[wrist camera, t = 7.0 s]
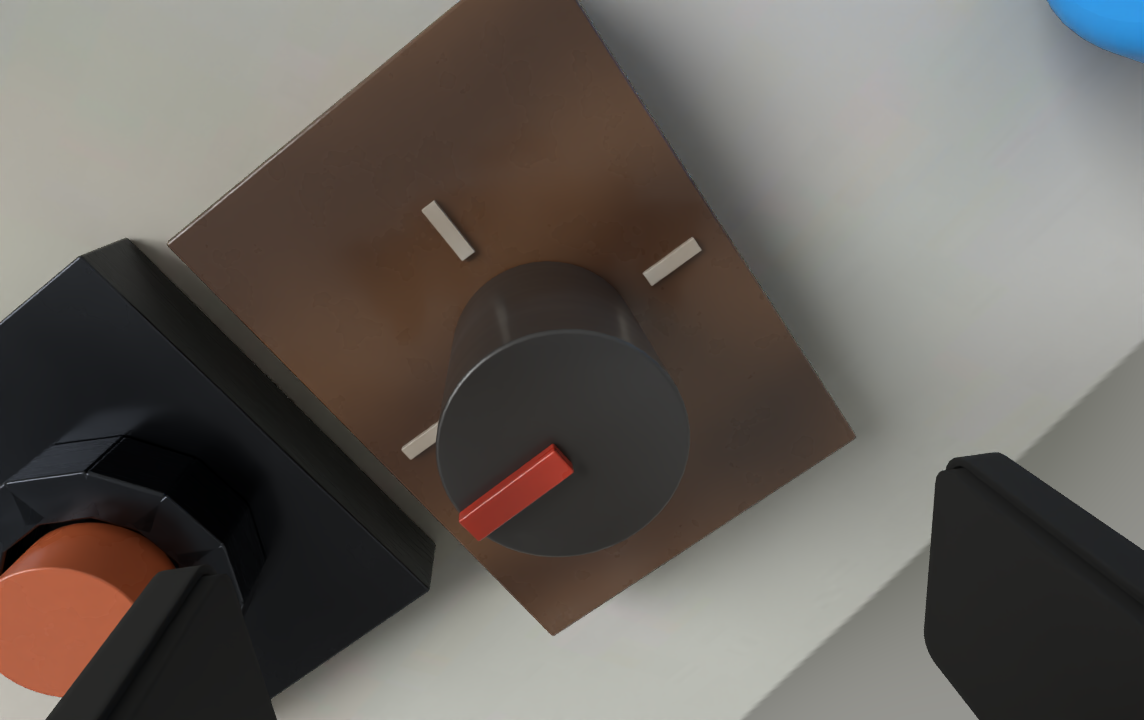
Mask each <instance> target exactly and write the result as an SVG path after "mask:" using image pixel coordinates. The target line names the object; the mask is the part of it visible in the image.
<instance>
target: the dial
mask: <svg viewBox="0 0 1144 720" xmlns="http://www.w3.org/2000/svg"><path fill="white" fill-rule="evenodd" d="M689 447H690V426H689V420H688V414H687V411H686V407H685V404H684V401H683V399H682V396H681V394H680V392H679V390H678V388H677V386H676V385H675V383H674V381H673V380H672V378H671V376H670V375H669V373H668V371H667V370H666V368H665V366H664V365H663V363H662V361H661V360H660V358H659V357H658V355H657V353H656V352H655V350H654V348H653V347H652V345H651V343H650V342H649V340H648V338H647V337H646V335H645V333H644V332H643V330H642V329H641V327H640V325H639V324H638V322H637V320H636V319H635V317H634V315H633V314H632V312H631V310H630V309H629V307H628V306H627V304H626V303H625V301H624V300H623V298H622V297H621V295H620V294H619V293H618V292H617V291H616V290H615V289H614V288H613V287H612V286H611V285H610V284H609V283H608V282H606V281H605V280H604V279H603V278H601V277H599V276H598V275H596V274H595V273H593V272H591V271H589V270H586V269H584V268H582V267H579V266H576V265H572V264H568V263H562V262H551V261H543V262H532V263H528V264H523V265H519V266H516V267H514V268H511V269H508V270H506V271H504V272H502V273H500V274H498V275H497V276H495V277H494V278H492V279H491V280H489V281H488V282H486V283H485V284H484V285H483V286H482V287H481V288H480V289H479V290H478V291H477V292H476V293H475V294H474V295H473V297H472V298H471V299H470V300H469V302H468V303H467V305H466V306H465V308H464V310H463V311H462V313H461V316H460V318H459V320H458V323H457V326H456V329H455V333H454V338H453V344H452V350H451V355H450V361H449V366H448V372H447V378H446V383H445V389H444V394H443V400H442V405H441V411H440V417H439V422H438V428H437V435H436V460H437V467H438V472H439V475H440V478H441V482H442V485H443V487H444V489H445V491H446V493H447V495H448V497H449V499H450V501H451V502H452V504H453V505H454V507H455V508H456V510H457V511H458V512H459V523H460V524H461V525H462V526H463V527H464V528H465V529H466V530H467V531H468V532H469V533H470V534H471V535H472V536H473V537H475V538H476V539H477V540H478V541H481V540H482V539H484V538H485V537H487V538H489V539H490V540H492V541H494V542H496V543H498V544H500V545H502V546H504V547H506V548H509V549H512V550H515V551H518V552H521V553H526V554H530V555H535V556H544V557H571V556H579V555H585V554H589V553H593V552H597V551H600V550H603V549H606V548H609V547H612V546H614V545H616V544H618V543H620V542H622V541H624V540H626V539H628V538H629V537H631V536H632V535H634V534H636V533H637V532H639V531H640V530H641V529H643V528H644V527H645V526H646V525H648V524H649V523H650V522H651V521H652V520H653V519H654V518H655V517H656V516H657V515H658V514H659V513H660V512H661V511H662V510H663V508H664V507H665V506H666V505H667V503H668V502H669V501H670V499H671V498H672V496H673V494H674V493H675V491H676V489H677V488H678V485H679V483H680V481H681V478H682V476H683V474H684V471H685V467H686V464H687V460H688V455H689Z"/></svg>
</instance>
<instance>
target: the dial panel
mask: <svg viewBox="0 0 1144 720" xmlns="http://www.w3.org/2000/svg"><path fill="white" fill-rule="evenodd" d="M167 245H168V247H169V248H170V249H171V250H172V251H173V252H174V253H175V254H176V255H177V256H178V257H179V258H180V259H181V260H182V261H183V262H184V263H185V264H186V265H187V266H188V267H189V268H190V269H191V270H192V271H193V272H194V273H195V274H196V275H197V276H198V277H199V278H200V279H201V280H202V281H203V282H204V283H205V284H206V285H207V286H208V287H209V288H210V289H211V290H212V291H213V292H214V293H215V295H216V296H217V297H218V298H219V299H220V300H221V301H222V302H223V303H224V304H225V305H226V306H227V307H228V308H229V309H230V310H231V311H232V312H233V313H234V314H235V315H236V316H237V317H238V318H239V319H240V320H241V321H242V322H243V323H244V324H245V325H246V326H247V327H248V328H249V329H250V330H251V331H252V332H253V333H254V334H255V335H256V336H257V337H258V338H259V339H260V340H261V341H262V342H263V343H264V344H265V345H266V346H267V347H268V348H269V349H270V350H271V351H272V352H273V353H274V354H275V355H276V356H277V357H278V358H279V359H280V360H281V361H282V362H283V363H284V364H285V365H286V366H287V368H288V369H289V370H290V371H291V372H292V373H293V374H294V375H295V376H296V377H297V378H298V379H299V380H300V381H301V382H302V383H303V384H304V385H305V386H306V387H307V388H308V389H309V390H310V391H311V392H312V393H313V394H314V395H315V396H316V397H317V398H318V399H319V400H320V401H321V402H322V403H323V404H324V405H325V406H326V407H327V408H328V409H329V410H330V411H331V412H332V413H333V414H334V415H335V416H336V417H337V418H338V419H339V420H340V421H341V422H342V423H343V424H344V425H345V426H346V427H347V428H348V429H349V430H350V431H351V432H352V433H353V434H354V435H355V436H356V437H357V438H358V439H359V441H360V442H361V443H362V444H363V445H364V446H365V447H366V448H367V449H368V450H369V451H370V452H371V453H372V454H373V455H374V456H375V457H376V458H377V459H378V460H379V461H380V462H381V463H382V464H383V465H384V466H385V467H386V468H387V469H388V470H389V471H390V472H391V473H392V474H393V475H394V476H395V477H396V478H397V479H398V480H399V481H400V482H401V483H402V484H403V485H404V486H405V487H406V488H407V489H408V490H409V491H410V492H411V493H412V494H413V495H414V496H415V497H416V498H417V499H418V500H419V501H420V502H421V503H422V504H423V505H424V506H425V507H426V508H427V509H428V510H429V511H430V513H431V514H432V515H433V516H434V517H435V518H436V519H437V520H438V521H439V522H440V523H441V524H442V525H443V526H444V527H445V528H446V529H447V530H448V531H449V532H450V533H451V534H452V535H453V536H454V537H455V538H456V539H457V540H458V541H459V542H460V543H461V544H462V545H463V546H464V547H465V548H466V549H467V550H468V551H469V552H470V553H471V554H472V555H473V556H474V557H475V558H476V559H477V560H478V561H479V562H480V563H481V564H482V565H483V566H484V567H485V568H486V569H487V570H488V571H489V572H490V573H491V574H492V575H493V576H494V577H495V578H496V579H497V580H498V581H499V582H500V583H501V584H502V586H503V587H504V588H505V589H506V590H507V591H508V592H509V593H510V594H511V595H512V596H513V597H514V598H515V599H516V600H517V601H518V602H519V603H520V604H521V605H522V606H523V607H524V608H525V609H526V610H527V611H528V612H529V613H530V614H531V615H532V616H533V617H534V618H535V619H536V620H537V621H538V622H539V623H540V624H541V625H542V626H543V627H544V628H545V629H546V630H547V631H548V632H549V633H550V634H551V635H552V636H555V635H556V634H558V633H559V632H561V631H562V630H564V629H565V628H567V627H568V626H570V625H571V624H573V623H574V622H576V621H578V620H579V619H581V618H582V617H584V616H585V615H587V614H588V613H590V612H591V611H593V610H594V609H596V608H597V607H599V606H600V605H602V604H603V603H605V602H607V601H608V600H610V599H611V598H613V597H614V596H616V595H617V594H619V593H620V592H622V591H623V590H625V589H626V588H628V587H629V586H631V585H633V584H634V583H636V582H637V581H639V580H640V579H642V578H643V577H645V576H646V575H648V574H649V573H651V572H652V571H654V570H655V569H657V568H658V567H660V566H662V565H663V564H665V563H666V562H668V561H669V560H671V559H672V558H674V557H675V556H677V555H678V554H680V553H681V552H683V551H684V550H686V549H687V548H689V547H691V546H692V545H694V544H695V543H697V542H698V541H700V540H701V539H703V538H704V537H706V536H707V535H709V534H710V533H712V532H713V531H715V530H716V529H718V528H720V527H721V526H723V525H724V524H726V523H727V522H729V521H730V520H732V519H733V518H735V517H736V516H738V515H739V514H741V513H742V512H744V511H746V510H747V509H749V508H750V507H752V506H753V505H755V504H756V503H758V502H759V501H761V500H762V499H764V498H765V497H767V496H768V495H770V494H771V493H773V492H775V491H776V490H778V489H779V488H781V487H782V486H784V485H785V484H787V483H788V482H790V481H791V480H793V479H794V478H796V477H797V476H799V475H800V474H802V473H804V472H805V471H807V470H808V469H810V468H811V467H813V466H814V465H816V464H817V463H819V462H820V461H822V460H823V459H825V458H826V457H828V456H830V455H831V454H833V453H834V452H836V451H837V450H839V449H840V448H842V447H843V446H845V445H846V444H848V443H849V442H851V441H852V440H854V439H855V438H856V435H855V433H854V431H853V430H852V428H851V427H850V425H849V424H848V422H847V421H846V419H845V417H844V416H843V414H842V413H841V411H840V410H839V408H838V406H837V405H836V403H835V402H834V400H833V399H832V397H831V396H830V394H829V392H828V391H827V389H826V388H825V386H824V385H823V383H822V381H821V380H820V378H819V377H818V375H817V374H816V372H815V371H814V369H813V367H812V366H811V364H810V363H809V361H808V360H807V358H806V356H805V355H804V353H803V352H802V350H801V349H800V347H799V346H798V344H797V342H796V341H795V339H794V338H793V336H792V335H791V333H790V331H789V330H788V328H787V327H786V325H785V324H784V322H783V321H782V319H781V317H780V316H779V314H778V313H777V311H776V310H775V308H774V306H773V305H772V303H771V302H770V300H769V299H768V297H767V296H766V294H765V292H764V291H763V289H762V288H761V286H760V285H759V283H758V281H757V280H756V278H755V277H754V275H753V274H752V272H751V271H750V269H749V267H748V266H747V264H746V263H745V261H744V260H743V258H742V256H741V255H740V253H739V252H738V250H737V249H736V247H735V246H734V244H733V242H732V241H731V239H730V238H729V236H728V235H727V233H726V231H725V230H724V228H723V227H722V225H721V224H720V222H719V221H718V219H717V217H716V216H715V214H714V213H713V211H712V210H711V208H710V206H709V205H708V203H707V202H706V200H705V199H704V197H703V196H702V194H701V192H700V191H699V189H698V188H697V186H696V185H695V183H694V181H693V180H692V178H691V177H690V175H689V174H688V172H687V171H686V169H685V167H684V166H683V164H682V163H681V161H680V160H679V158H678V156H677V155H676V153H675V152H674V150H673V149H672V147H671V146H670V144H669V142H668V141H667V139H666V138H665V136H664V135H663V133H662V131H661V130H660V128H659V127H658V125H657V124H656V122H655V121H654V119H653V117H652V116H651V114H650V113H649V111H648V110H647V108H646V106H645V105H644V103H643V102H642V100H641V99H640V97H639V96H638V94H637V92H636V91H635V89H634V88H633V86H632V85H631V83H630V81H629V80H628V78H627V77H626V75H625V74H624V72H623V71H622V69H621V67H620V66H619V64H618V63H617V61H616V60H615V58H614V57H613V55H612V53H611V52H610V50H609V49H608V47H607V46H606V44H605V42H604V41H603V39H602V38H601V36H600V35H599V33H598V32H597V30H596V28H595V27H594V25H593V24H592V22H591V21H590V19H589V17H588V16H587V14H586V13H585V11H584V10H583V8H582V7H581V5H580V3H579V2H578V0H460V1H459V2H458V3H456V4H455V5H454V6H453V7H451V8H450V9H449V10H448V11H447V12H445V13H444V14H443V15H442V16H441V17H439V18H438V19H437V20H436V21H434V22H433V23H432V24H431V25H430V26H428V27H427V28H426V29H425V30H424V31H422V32H421V33H420V34H419V35H417V36H416V37H415V38H414V39H413V40H411V41H410V42H409V43H408V44H407V45H405V46H404V47H403V48H402V49H401V50H399V51H398V52H397V53H396V54H394V55H393V56H392V57H391V58H390V59H388V60H387V61H386V62H385V63H384V64H382V65H381V66H380V67H379V68H377V69H376V70H375V71H374V72H373V73H371V74H370V75H369V76H368V77H367V78H365V79H364V80H363V81H362V82H360V83H359V84H358V85H357V86H356V87H354V88H353V89H352V90H351V91H350V92H348V93H347V94H346V95H345V96H343V97H342V98H341V99H340V100H339V101H337V102H336V103H335V104H334V105H333V106H331V107H330V108H329V109H328V110H326V111H325V112H324V113H323V114H322V115H320V116H319V117H318V118H317V119H316V120H314V121H313V122H312V123H311V124H310V125H308V126H307V127H306V128H305V129H303V130H302V131H301V132H300V133H299V134H297V135H296V136H295V137H294V138H293V139H291V140H290V141H289V142H288V143H286V144H285V145H284V146H283V147H282V148H280V149H279V150H278V151H277V152H276V153H274V154H273V155H272V156H271V157H269V158H268V159H267V160H266V161H265V162H263V163H262V164H261V165H260V166H259V167H257V168H256V169H255V170H254V171H252V172H251V173H250V174H249V175H248V176H246V177H245V178H244V179H243V180H242V181H240V182H239V183H238V184H237V185H235V186H234V187H233V188H232V189H231V190H229V191H228V192H227V193H226V194H225V195H223V196H222V197H221V198H220V199H219V200H217V201H216V202H215V203H214V204H212V205H211V206H210V207H209V208H208V209H206V210H205V211H204V212H203V213H202V214H200V215H199V216H198V217H197V218H195V219H194V220H193V221H192V222H191V223H189V224H188V225H187V226H186V227H185V228H183V229H182V230H181V231H180V232H178V233H177V234H176V235H175V236H174V237H172V238H171V239H170V240H169V241H168V243H167ZM543 261H551V262H562V263H568V264H572V265H576V266H579V267H582V268H584V269H586V270H589V271H591V272H593V273H595V274H596V275H598V276H599V277H601V278H603V279H604V280H605V281H606V282H608V283H609V284H610V285H611V286H612V287H613V288H614V289H615V290H616V291H617V292H618V293H619V294H620V295H621V297H622V298H623V300H624V301H625V303H626V304H627V306H628V307H629V309H630V310H631V312H632V314H633V315H634V317H635V319H636V320H637V322H638V324H639V325H640V327H641V329H642V330H643V332H644V333H645V335H646V337H647V338H648V340H649V342H650V343H651V345H652V347H653V348H654V350H655V352H656V353H657V355H658V357H659V358H660V360H661V361H662V363H663V365H664V366H665V368H666V370H667V371H668V373H669V375H670V376H671V378H672V380H673V381H674V383H675V385H676V386H677V388H678V390H679V392H680V394H681V396H682V399H683V401H684V404H685V407H686V411H687V414H688V420H689V426H690V447H689V455H688V460H687V464H686V467H685V471H684V474H683V476H682V478H681V481H680V483H679V485H678V488H677V489H676V491H675V493H674V494H673V496H672V498H671V499H670V501H669V502H668V503H667V505H666V506H665V507H664V508H663V510H662V511H661V512H660V513H659V514H658V515H657V516H656V517H655V518H654V519H653V520H652V521H651V522H650V523H649V524H648V525H646V526H645V527H644V528H643V529H641V530H640V531H639V532H637V533H636V534H634V535H632V536H631V537H629V538H628V539H626V540H624V541H622V542H620V543H618V544H616V545H614V546H612V547H609V548H606V549H603V550H600V551H597V552H593V553H589V554H585V555H579V556H571V557H544V556H535V555H530V554H526V553H521V552H518V551H515V550H512V549H509V548H506V547H504V546H502V545H500V544H498V543H496V542H494V541H492V540H490V539H489V538H487V537H485V538H484V539H482V540H481V541H478V540H477V539H476V538H475V537H473V536H472V535H471V534H470V533H469V532H468V531H467V530H466V529H465V528H464V527H463V526H462V525H461V524H460V523H459V512H458V511H457V510H456V508H455V507H454V505H453V504H452V502H451V501H450V499H449V497H448V495H447V493H446V491H445V489H444V487H443V485H442V482H441V478H440V475H439V472H438V467H437V460H436V435H437V428H438V422H439V417H440V411H441V405H442V400H443V394H444V389H445V383H446V378H447V372H448V366H449V361H450V355H451V350H452V344H453V338H454V333H455V329H456V326H457V323H458V320H459V318H460V316H461V313H462V311H463V310H464V308H465V306H466V305H467V303H468V302H469V300H470V299H471V298H472V297H473V295H474V294H475V293H476V292H477V291H478V290H479V289H480V288H481V287H482V286H483V285H484V284H485V283H486V282H488V281H489V280H491V279H492V278H494V277H495V276H497V275H498V274H500V273H502V272H504V271H506V270H508V269H511V268H514V267H516V266H519V265H523V264H528V263H532V262H543Z"/></svg>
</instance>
